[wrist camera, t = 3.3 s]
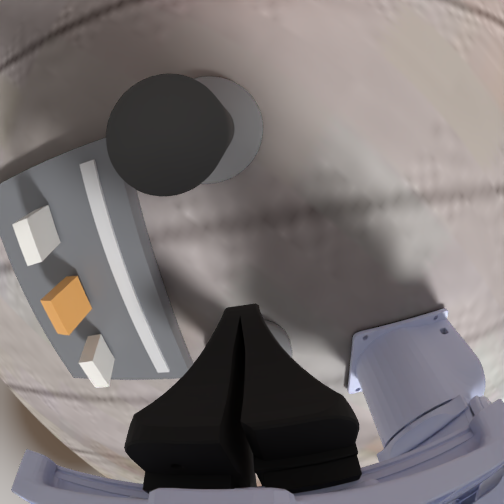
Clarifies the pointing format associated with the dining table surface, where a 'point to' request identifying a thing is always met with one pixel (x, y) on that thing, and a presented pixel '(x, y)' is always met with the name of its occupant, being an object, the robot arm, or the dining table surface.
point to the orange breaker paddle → (66, 305)
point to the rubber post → (182, 133)
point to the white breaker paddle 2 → (97, 361)
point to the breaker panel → (96, 263)
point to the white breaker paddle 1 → (36, 235)
